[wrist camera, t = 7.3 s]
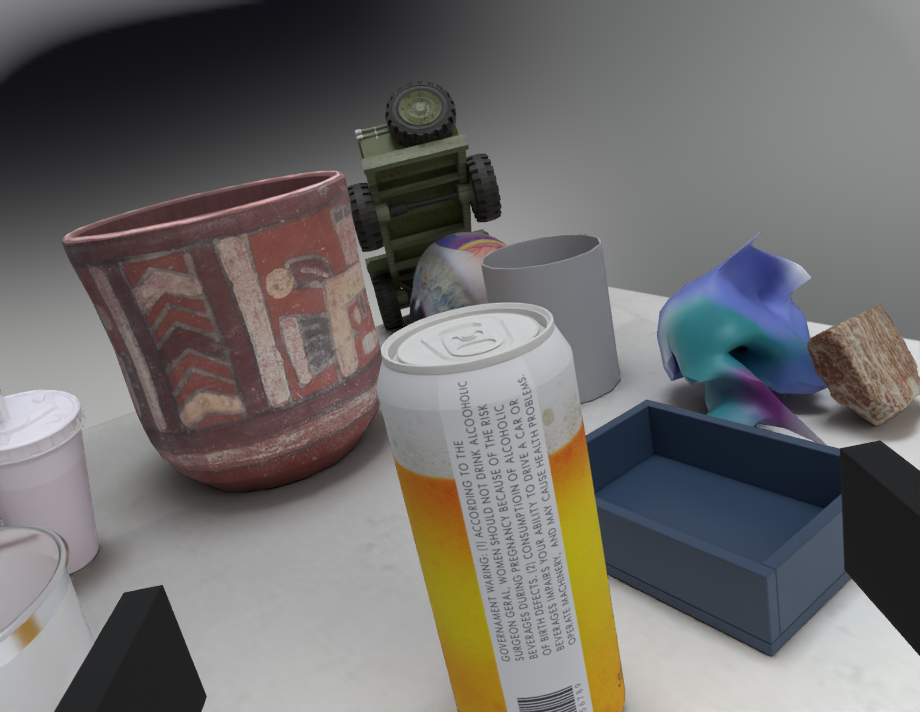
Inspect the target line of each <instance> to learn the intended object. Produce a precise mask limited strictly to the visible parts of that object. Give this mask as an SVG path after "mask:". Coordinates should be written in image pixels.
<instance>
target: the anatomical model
mask: <svg viewBox="0 0 920 712" xmlns="http://www.w3.org/2000/svg"><path fill="white" fill-rule="evenodd" d="M506 246H507V245H506V244H504V243H503V242H502V241H500V240H498V239H497V238H494V237H492V236H489V235H487V234H484V233H480V232H459V233H453V234H449V235H446V236H444V237H442V238H440V239H438V240H437V241H435V242H434V243H433V244H431V245H430V246H429V247H428V248H427V249H426V251H425V252H424V253H423V255H422V256H421V258H420V260H419V262H418V264H417V267H416V270H415V274H414V280H413V290H412V295H411V303H410V321H411V324H412V323H414V322H416V321H419V320H421V319H424V318H426V317H429V316H432V315H435V314H439V313H442V312H446V311H450V310H454V309H458V308H463V307H468V306H474V305H481V304H488V299H487V294H486V288H485V283H484V278H483V273H482V268H481V261H482V258H483V257H485V256H486V255H488V254H489V253H491V252H493V251H495V250H497V249H500V248H503V247H506Z"/></svg>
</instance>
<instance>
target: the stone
mask: <svg viewBox="0 0 920 712" xmlns="http://www.w3.org/2000/svg"><path fill="white" fill-rule="evenodd" d="M807 344H808V345H807V349H808V351H809V354H810V356H811V360H812V362H813V364H814V368H815V372H816V373H817V374H818V376H819V377H821V379H822V380H823V382H824V383H825V384H826V386H827V388H828V389H829V390H830V392H831V396H832V397H833V399H834V400H836V401H837V402H838V403H840V404H841V405H847V406H849V407H850V408H851V410H852V411H854V412H855V413H856V414H858V415H859V416H860V417H862V418H864V419H865V420H867V421H869V422H871V423H872V424H873V425H881V424H883V423H885V422H886V421H887V420H888V419H890V418H892V417H893V416H895V415H897V414H898V413H900V412H901V411H902V410H904V409H905V408H906V407H907V406H908V405H909V404H910V403H911V402H912V401H913V399H914V397H916V396H918V395H919V394H920V377H919V376H918V372H917V365H916V362H915V360H914V358H913V357H912V355H911V353H910V351H909V350H908V348H907V346H906V343H905V341H904V340H903V338H902V336H901V335H900V334H899V333H898V331H897V330H896V329H895V327H894V324H893V322H892V320H891V319H890V317H889V316H888V315H887V313H886V312H885V311H884V308H883V306H882V305H881V304H880V305H878V306H876V307H873V308H871V309H869V310H867V311H865V312H863V313H860V314H859V315H856V316H854V317H852V318H850V319H848V320H846V321H843V322H841V323H839V324H838V325H836V326H833V327H831V328H829V329H828V330H826V331H823V332H821V333H819V334H818V335H816V336H814V337H812V338H810V339H808V342H807Z"/></svg>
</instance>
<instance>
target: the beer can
mask: <svg viewBox="0 0 920 712" xmlns="http://www.w3.org/2000/svg"><path fill="white" fill-rule="evenodd" d="M381 356H382V363H381V367H380V372H379V376H378V381H377V385H376V390H377V394H378V398H379V402H380V406H381V410H382V414H383V418H384V422H385V426H386V430H387V434H388V438H389V442H390V446H391V450H392V453H393V457H394V461H395V465H396V469H397V473H398V477H399V481H400V485H401V489H402V493H403V497H404V501H405V505H406V509H407V513H408V517H409V520H410V524H411V528H412V532H413V536H414V540H415V544H416V548H417V552H418V556H419V560H420V564H421V568H422V572H423V576H424V580H425V583H426V587H427V591H428V595H429V599H430V603H431V607H432V611H433V615H434V619H435V623H436V627H437V631H438V635H439V639H440V643H441V647H442V650H443V654H444V658H445V662H446V666H447V670H448V674H449V678H450V682H451V686H452V690H453V694H454V698H455V702H456V706H457V710H458V712H622V711H623V707H624V702H625V686H624V680H623V673H622V667H621V660H620V654H619V648H618V641H617V635H616V628H615V622H614V616H613V609H612V603H611V596H610V590H609V584H608V577H607V571H606V564H605V558H604V552H603V545H602V539H601V532H600V526H599V520H598V513H597V507H596V501H595V494H594V488H593V481H592V475H591V469H590V462H589V456H588V449H587V443H586V437H585V430H584V424H583V417H582V411H581V405H580V398H579V392H578V385H577V379H576V373H575V366H574V360H573V353H572V349H571V346H570V345H569V343H568V342H567V341H566V339H565V338H564V336H563V335H562V334H561V332H560V331H559V329H558V328H557V327H556V325H555V324H554V319H553V316H552V314H551V313H550V312H549V311H548V310H547V309H545V308H543V307H540V306H537V305H532V304H525V303H490V304H481V305H474V306H468V307H463V308H458V309H454V310H450V311H446V312H442V313H439V314H435V315H432V316H429V317H426V318H424V319H421V320H419V321H416V322H414V323H412V324H410V325H407V326H406V327H404V328H402V329H400V330H398V331H397V332H395V333H394V334H392V335H391V336H390V337H389V338H388V339H387V340H386V341H385V342H384V343H383V345H382V347H381Z"/></svg>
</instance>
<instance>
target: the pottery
mask: <svg viewBox="0 0 920 712" xmlns="http://www.w3.org/2000/svg"><path fill="white" fill-rule="evenodd" d="M61 242H62V244H63V246H64V249H65V251H66V253H67V256H68V258H69V261H70V263H71V264H72V266H73V268H74V270H75V272H76V273H77V275H78V277H79V279H80V281H81V282H82V284H83V286H84V288H85V290H86V291H87V293H88V295H89V297H90V299H91V300H92V302H93V304H94V307H95V309H96V311H97V313H98V315H99V317H100V320H101V322H102V324H103V326H104V328H105V330H106V333H107V335H108V337H109V339H110V341H111V343H112V346H113V348H114V350H115V353H116V356H117V359H118V362H119V365H120V367H121V370H122V373H123V376H124V379H125V382H126V384H127V387H128V390H129V393H130V395H131V398H132V401H133V404H134V407H135V410H136V413H137V415H138V417H139V419H140V421H141V424H142V426H143V428H144V430H145V432H146V434H147V436H148V437H149V439H150V441H151V443H152V444H153V446H154V447H155V449H156V450H157V451H158V453H159V454H160V455H161V457H162V458H164V459H165V460H166V461H167V462H168V463H169V464H171V465H172V466H173V467H174V468H175V469H177V470H178V471H179V472H180V473H181V474H183V475H185V476H187V477H190V478H192V479H195V480H197V481H200V482H202V483H205V484H207V485H210V486H212V487H215V488H218V489H220V490H223V491H229V492H249V491H255V490H262V489H268V488H275V487H278V486H282V485H285V484H288V483H291V482H294V481H298V480H301V479H304V478H307V477H309V476H311V475H313V474H315V473H317V472H319V471H321V470H323V469H325V468H327V467H329V466H331V465H333V464H335V463H336V462H337V461H339V460H340V459H341V458H342V457H344V456H345V455H346V454H348V453H349V452H350V451H351V450H353V448H354V447H355V445H356V444H357V442H358V440H359V439H360V437H361V436H362V434H363V433H364V431H365V430H366V428H367V426H368V425H369V423H370V422H371V420H372V419H373V417H374V415H375V414H376V412H377V411H378V407H379V403H380V402H379V398H378V394H377V390H376V385H377V381H378V376H379V372H380V367H381V363H382V356H381V349H380V345H379V341H378V337H377V333H376V329H375V325H374V321H373V318H372V314H371V310H370V306H369V302H368V298H367V294H366V289H365V284H364V280H363V275H362V270H361V265H360V260H359V256H358V251H357V245H356V239H355V231H354V224H353V217H352V210H351V204H350V197H349V192H348V188H347V184H346V180H345V176H344V175H343V173H341V172H337V171H317V172H310V173H302V174H295V175H289V176H283V177H277V178H272V179H266V180H260V181H256V182H251V183H246V184H241V185H237V186H231V187H227V188H222V189H218V190H213V191H208V192H204V193H199V194H195V195H191V196H187V197H183V198H179V199H175V200H170V201H167V202H163V203H159V204H155V205H152V206H148V207H144V208H141V209H137V210H133V211H130V212H127V213H123V214H120V215H117V216H114V217H110V218H107V219H104V220H101V221H98V222H95V223H93V224H90V225H87V226H84V227H82V228H79V229H77V230H75V231H73V232H71V233H69V234H67V235H66V236H65V237H64V238H63V239H62V240H61Z"/></svg>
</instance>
